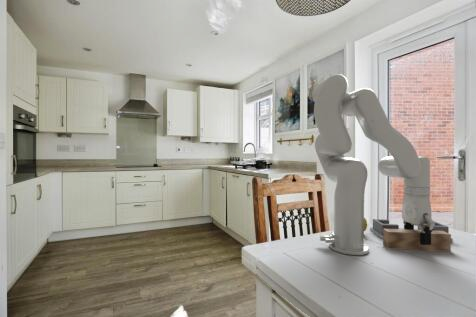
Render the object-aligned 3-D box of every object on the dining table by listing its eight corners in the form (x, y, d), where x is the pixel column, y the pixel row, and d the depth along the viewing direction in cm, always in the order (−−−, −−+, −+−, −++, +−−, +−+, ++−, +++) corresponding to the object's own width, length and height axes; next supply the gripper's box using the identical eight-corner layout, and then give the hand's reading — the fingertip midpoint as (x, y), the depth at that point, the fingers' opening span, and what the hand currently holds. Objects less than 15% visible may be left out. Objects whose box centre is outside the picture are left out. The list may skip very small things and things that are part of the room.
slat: (387, 249, 88) (388, 231, 88) (382, 244, 92) (383, 228, 92) (450, 251, 86) (450, 234, 86) (442, 247, 90) (442, 230, 90)
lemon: (367, 233, 105) (367, 214, 105) (366, 236, 101) (366, 216, 100) (353, 230, 108) (353, 212, 108) (351, 234, 104) (351, 215, 103)
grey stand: (382, 239, 98) (382, 225, 98) (369, 229, 110) (370, 218, 110) (452, 241, 95) (452, 228, 95) (431, 232, 107) (432, 219, 107)
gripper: (393, 188, 98) (393, 232, 98) (420, 195, 80) (420, 248, 81) (413, 188, 97) (413, 232, 97) (445, 195, 80) (445, 249, 80)
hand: (416, 239), depth 89 cm, fingers open, 9 cm apart
